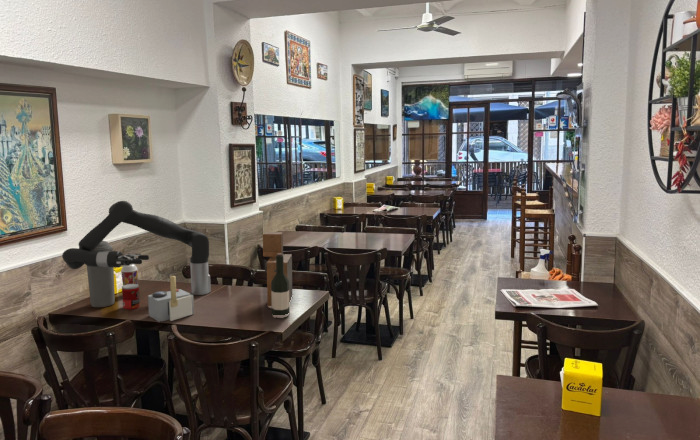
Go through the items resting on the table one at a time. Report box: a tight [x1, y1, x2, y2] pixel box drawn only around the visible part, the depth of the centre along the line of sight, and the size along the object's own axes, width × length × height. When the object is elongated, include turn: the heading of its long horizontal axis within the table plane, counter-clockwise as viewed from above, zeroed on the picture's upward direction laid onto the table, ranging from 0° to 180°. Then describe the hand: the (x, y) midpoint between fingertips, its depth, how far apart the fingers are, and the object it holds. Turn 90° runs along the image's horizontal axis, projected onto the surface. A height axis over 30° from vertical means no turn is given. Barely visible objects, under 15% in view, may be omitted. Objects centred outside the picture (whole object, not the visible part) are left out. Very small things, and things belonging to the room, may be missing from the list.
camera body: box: [147, 288, 192, 323], centre depth 246 cm, size 16×11×11 cm
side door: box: [169, 275, 195, 322], centre depth 241 cm, size 13×3×21 cm, turn 143°
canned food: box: [121, 284, 141, 310], centre depth 258 cm, size 8×8×11 cm
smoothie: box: [120, 264, 139, 286], centre depth 278 cm, size 8×8×20 cm
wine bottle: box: [271, 253, 290, 315], centre depth 245 cm, size 8×8×30 cm
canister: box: [86, 240, 116, 308], centre depth 260 cm, size 13×13×35 cm
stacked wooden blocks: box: [262, 231, 293, 306], centre depth 265 cm, size 19×14×35 cm
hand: (145, 259), depth 239 cm, fingers open, 8 cm apart
